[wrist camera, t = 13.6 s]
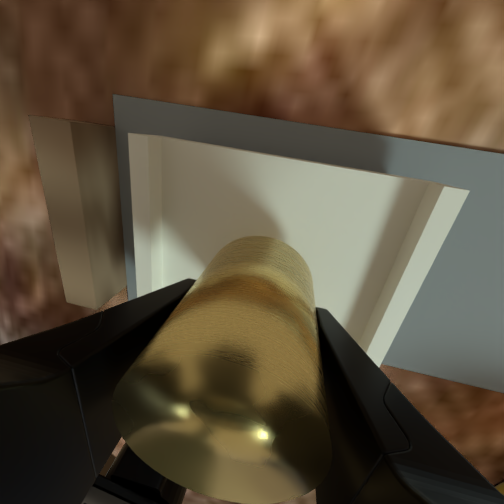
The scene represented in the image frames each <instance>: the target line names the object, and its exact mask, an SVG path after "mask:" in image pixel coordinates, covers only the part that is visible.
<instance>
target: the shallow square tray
mask: <svg viewBox="0 0 504 504" xmlns="http://www.w3.org/2000/svg"><path fill="white" fill-rule="evenodd" d="M128 144H129V162H130V179H131V197H132V215H133V232H134V250H135V267H136V285H137V298H138V297H140V296H143V295H145V294H148V293H151V292H153V291H156V290H158V289H161V288H164V287H166V286H169V285H171V284H174V283H177V282H179V281H182V280H184V279H187V278H191V279H195V280H197V279H198V278H199V276H200V275H201V274H202V272H203V271H204V270H205V269H206V267H207V266H208V265H209V263H210V262H211V261H212V259H213V258H214V257H215V255H216V254H217V253H218V252H219V251H220V250H221V249H222V248H223V247H224V246H225V245H227V244H228V243H230V242H232V241H234V240H236V239H239V238H242V237H247V236H265V237H271V238H274V239H277V240H280V241H282V242H284V243H286V244H288V245H289V246H291V247H292V248H293V249H295V250H296V251H297V252H298V253H299V254H300V255H301V256H302V258H303V259H304V260H305V262H306V263H307V265H308V267H309V269H310V272H311V275H312V280H313V289H314V298H315V306H316V307H320V308H324V309H327V310H328V311H329V312H330V313H331V314H332V315H333V317H334V318H335V319H336V320H337V321H338V322H339V323H340V324H341V326H342V327H343V328H344V329H345V330H346V331H347V332H348V334H349V335H350V336H351V337H352V338H353V339H354V340H355V341H356V343H357V344H358V345H359V346H360V347H361V348H362V349H363V350H364V352H365V353H366V354H367V355H368V356H369V357H370V358H371V359H372V361H373V362H374V363H375V364H376V365H377V366H378V367H380V365H381V363H382V361H383V359H384V357H385V355H386V353H387V351H388V349H389V347H390V345H391V343H392V341H393V340H394V338H395V336H396V334H397V332H398V330H399V328H400V326H401V324H402V322H403V320H404V318H405V316H406V314H407V312H408V310H409V308H410V306H411V305H412V303H413V301H414V299H415V297H416V295H417V293H418V291H419V289H420V287H421V285H422V283H423V281H424V279H425V277H426V275H427V273H428V271H429V270H430V268H431V266H432V264H433V262H434V260H435V258H436V256H437V254H438V252H439V250H440V248H441V246H442V244H443V242H444V240H445V238H446V236H447V235H448V233H449V231H450V229H451V227H452V225H453V223H454V221H455V219H456V217H457V215H458V213H459V211H460V209H461V207H462V205H463V203H464V201H465V200H466V198H467V196H468V194H469V192H470V191H469V190H465V189H461V188H457V187H453V186H449V185H445V184H441V183H437V182H433V181H427V180H421V179H415V178H409V177H403V176H397V175H391V174H386V173H380V172H374V171H368V170H362V169H356V168H350V167H344V166H338V165H332V164H326V163H320V162H314V161H308V160H302V159H296V158H290V157H284V156H278V155H272V154H267V153H261V152H255V151H249V150H243V149H237V148H231V147H225V146H219V145H213V144H207V143H201V142H195V141H189V140H183V139H177V138H171V137H165V136H158V135H147V134H135V133H128Z"/></svg>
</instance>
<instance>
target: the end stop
mask: <svg viewBox="0 0 504 504" xmlns="http://www.w3.org/2000/svg"><path fill="white" fill-rule="evenodd" d="M28 116H29V121H30V126H31V131H32V136H33V141H34V145H35V150H36V155H37V160H38V165H39V170H40V175H41V180H42V185H43V190H44V194H45V199H46V204H47V209H48V214H49V219H50V224H51V229H52V234H53V239H54V243H55V248H56V253H57V258H58V263H59V268H60V273H61V278H62V283H63V288H64V292H65V297H66V302H67V303H71V304H75V305H79V306H83V307H87V308H91V309H95V310H97V309H98V308H100V307H101V306H102V305H103V304H105V303H106V302H107V301H108V300H110V299H111V298H112V297H113V296H115V295H116V294H117V293H118V292H120V291H121V290H122V289H123V288H125V287H126V286H127V277H126V264H125V251H124V238H123V225H122V212H121V198H120V185H119V172H118V159H117V146H116V132H115V127H114V126H108V125H102V124H96V123H90V122H84V121H76V120H67V119H59V118H51V117H43V116H35V115H28Z"/></svg>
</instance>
